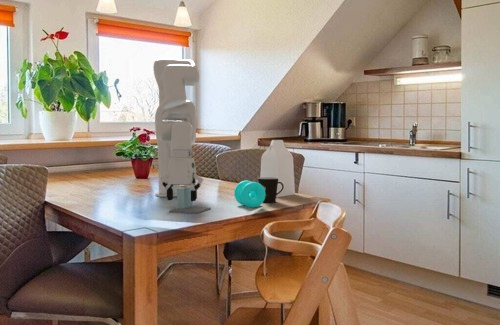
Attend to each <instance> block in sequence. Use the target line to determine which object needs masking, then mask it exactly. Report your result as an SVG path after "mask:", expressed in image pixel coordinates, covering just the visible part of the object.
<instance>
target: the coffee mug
mask: <svg viewBox="0 0 500 325" xmlns="http://www.w3.org/2000/svg"><path fill="white" fill-rule="evenodd" d="M257 183H259V184H261V185H262V186H263V188H264V190H265V199H264V201H263V203H264V204H266V203H267V204H271V203H276V201H277V197H276V195H278V194H279V193H280V192H281V191H282V190H283V188H284V186H283V183H281V182H278V178H273V177H262V178H260V177H257ZM278 183H280V184H281V185H282V189H281V191H279V192H278V193H277V186H278ZM263 203H262V204H263Z"/></svg>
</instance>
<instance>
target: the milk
mask: <svg viewBox="0 0 500 325" xmlns="http://www.w3.org/2000/svg"><path fill="white" fill-rule="evenodd" d="M294 168H295V166H294V156H293V155H292V153H291V152H290V151H289V149H288V148H287V147H286V146H285V143H284V140H283V139H272V140H271V142H270V144H269V146H268V148H266V150H265V151H264V152H263V153H262V155H261V157H260V173H259V175H260V177H259V178H262V177H273V178H278V182H281V183H283V186H284V188H283V190H282V191H281V189H282V185H281V184H280V183H278V186H277V193H278V192H279V191H281V192H280V193H279V194H278V195H276V198H281V197H285V196H287V197H288V196H294V195H296V188H295V187H296V186H295V169H294Z"/></svg>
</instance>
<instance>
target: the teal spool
mask: <svg viewBox="0 0 500 325" xmlns="http://www.w3.org/2000/svg"><path fill="white" fill-rule="evenodd" d="M233 193H234V194H233V196H234V199H235V200H236V203H238V204H240V205H242V206H246V207H248V208H251V209H254V208H258V207H260V206H261V205H262V204H263V201H264V199H265V190H264V188H263V186H262V185H261V184H259V183H258V181H257V182H256V181H251V180H247V179H246V180H242V181H240V182H239V183H237V184H236V186H235V188H234V191H233Z"/></svg>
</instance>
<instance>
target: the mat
mask: <svg viewBox="0 0 500 325" xmlns="http://www.w3.org/2000/svg"><path fill="white" fill-rule="evenodd" d="M209 210H211V207H208V206H206V207H205V206H191V207H188V208H185V209H182V208H177V207H176V208H174V209H170V210H169V211H168V213H175V214H177V213H179V214H193V215H194V214H195V215H197V214H201V213H203V212H207V211H209Z"/></svg>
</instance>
